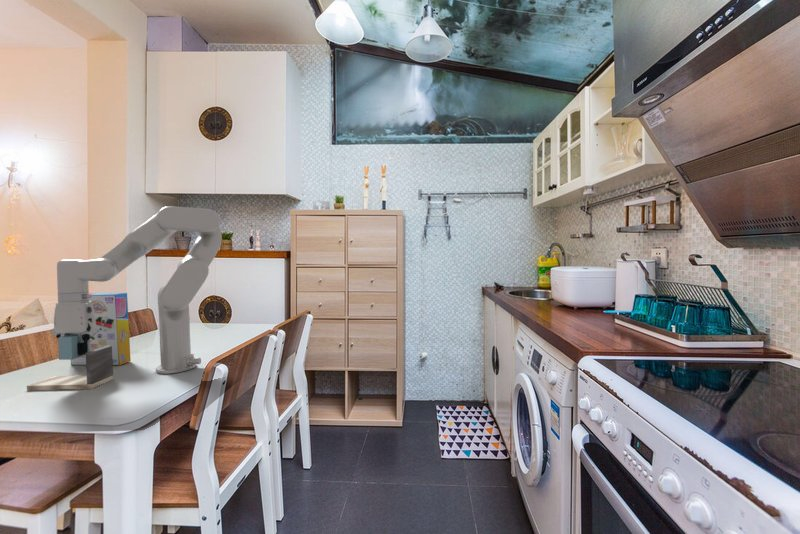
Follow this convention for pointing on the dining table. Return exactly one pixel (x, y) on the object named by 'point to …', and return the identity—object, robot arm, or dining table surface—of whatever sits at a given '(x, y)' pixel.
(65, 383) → the wooden bookend
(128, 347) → the game box
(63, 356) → the pale blue upright box
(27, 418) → the dining table surface
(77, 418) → the dining table surface
